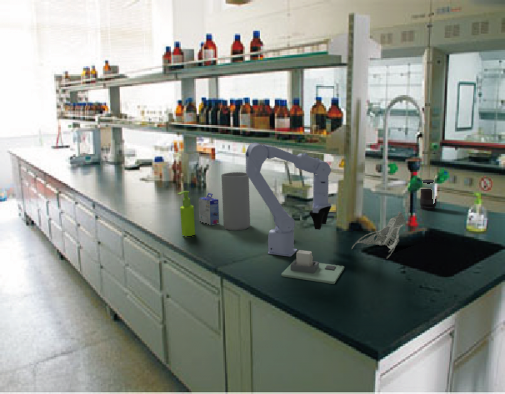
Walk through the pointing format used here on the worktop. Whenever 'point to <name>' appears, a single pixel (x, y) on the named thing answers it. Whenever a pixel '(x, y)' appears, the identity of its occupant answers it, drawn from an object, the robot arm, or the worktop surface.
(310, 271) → the white board with tray
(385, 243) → the skeletal model
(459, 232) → the worktop surface
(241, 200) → the cylinder vase
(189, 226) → the soap dispenser
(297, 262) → the keyed plug
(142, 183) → the worktop surface
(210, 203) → the ink cartridge box
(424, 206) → the camera lens
